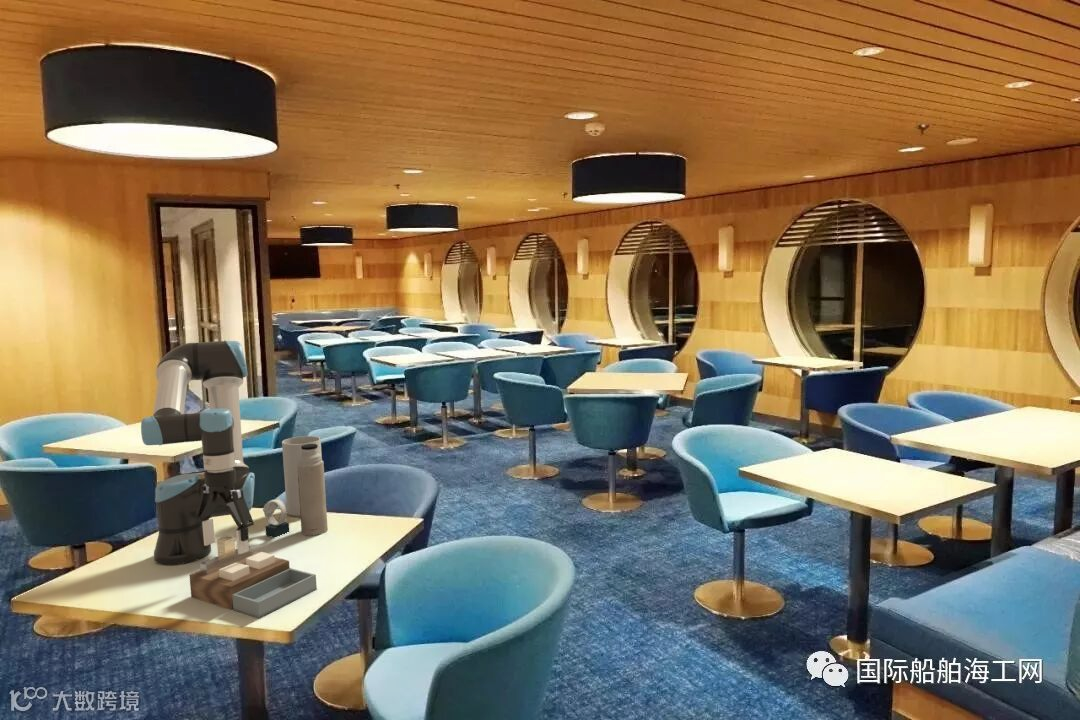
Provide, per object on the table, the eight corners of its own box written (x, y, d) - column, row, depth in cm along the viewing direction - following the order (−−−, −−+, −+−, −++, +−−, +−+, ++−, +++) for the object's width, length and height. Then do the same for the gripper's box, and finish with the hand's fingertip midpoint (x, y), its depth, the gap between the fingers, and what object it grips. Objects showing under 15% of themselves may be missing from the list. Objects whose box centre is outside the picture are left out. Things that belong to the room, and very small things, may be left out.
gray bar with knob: (200, 572, 190) (197, 546, 189) (246, 553, 202) (244, 529, 201) (207, 574, 188) (205, 548, 187) (253, 555, 200) (251, 530, 199)
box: (233, 610, 181) (232, 594, 181) (291, 582, 197) (290, 568, 196) (259, 618, 177) (258, 602, 176) (316, 589, 192) (315, 574, 192)
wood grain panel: (191, 597, 189) (189, 574, 189) (250, 571, 205) (248, 550, 204) (232, 610, 181) (230, 586, 181) (290, 582, 197) (289, 560, 196)
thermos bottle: (297, 535, 232) (291, 448, 228) (306, 527, 240) (301, 442, 236) (323, 535, 231) (317, 447, 228) (331, 526, 239) (325, 441, 236)
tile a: (219, 577, 187) (219, 569, 186) (236, 569, 191) (235, 562, 191) (232, 580, 184) (232, 573, 184) (249, 573, 188) (249, 565, 188)
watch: (275, 529, 238) (273, 496, 237) (293, 533, 234) (291, 499, 233) (261, 534, 234) (259, 500, 232) (279, 538, 230) (276, 504, 228)
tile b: (246, 565, 193) (245, 558, 193) (262, 559, 198) (261, 551, 198) (259, 569, 191) (258, 561, 191) (274, 562, 195) (274, 555, 195)
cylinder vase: (313, 518, 248) (308, 445, 245) (279, 516, 251) (274, 444, 248) (331, 506, 260) (327, 436, 257) (298, 504, 263) (294, 435, 260)
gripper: (176, 467, 195) (183, 545, 197) (239, 478, 182) (245, 561, 185) (202, 460, 201) (208, 536, 204) (264, 470, 189) (270, 551, 191)
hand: (226, 548), depth 194 cm, fingers open, 13 cm apart
